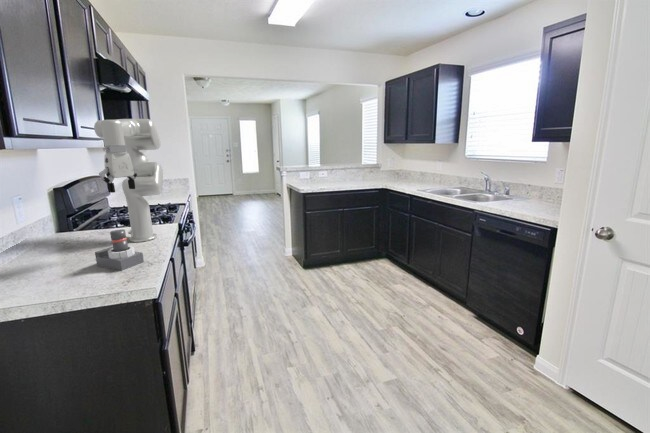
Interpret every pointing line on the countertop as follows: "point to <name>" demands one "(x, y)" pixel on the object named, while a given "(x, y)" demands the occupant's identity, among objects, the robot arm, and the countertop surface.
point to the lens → (119, 240)
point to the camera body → (118, 258)
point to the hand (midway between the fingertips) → (122, 190)
